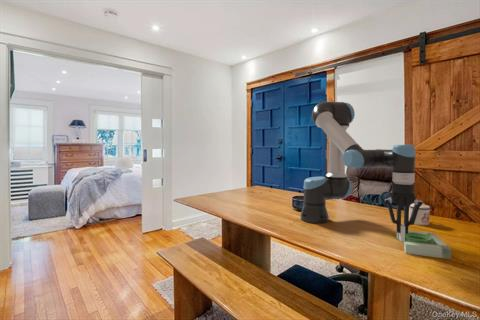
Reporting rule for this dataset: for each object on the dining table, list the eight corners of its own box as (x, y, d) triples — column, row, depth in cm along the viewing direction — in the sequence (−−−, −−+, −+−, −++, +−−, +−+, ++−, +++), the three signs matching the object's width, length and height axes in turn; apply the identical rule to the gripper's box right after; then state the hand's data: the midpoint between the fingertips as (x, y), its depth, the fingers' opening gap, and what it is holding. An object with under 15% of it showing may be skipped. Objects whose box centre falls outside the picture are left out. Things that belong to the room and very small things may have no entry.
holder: (405, 253, 93) (405, 244, 93) (396, 237, 110) (396, 229, 110) (450, 259, 88) (451, 249, 88) (433, 241, 105) (434, 233, 105)
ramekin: (431, 253, 93) (432, 241, 93) (403, 247, 98) (403, 237, 98) (430, 245, 100) (431, 234, 100) (404, 240, 106) (404, 230, 105)
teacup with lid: (425, 226, 124) (425, 203, 123) (405, 222, 131) (405, 200, 131) (435, 222, 130) (436, 200, 130) (415, 218, 138) (416, 197, 137)
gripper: (386, 183, 99) (385, 241, 100) (425, 185, 94) (424, 246, 95) (383, 181, 106) (382, 235, 107) (420, 182, 101) (418, 239, 102)
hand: (402, 240), depth 101 cm, fingers closed
